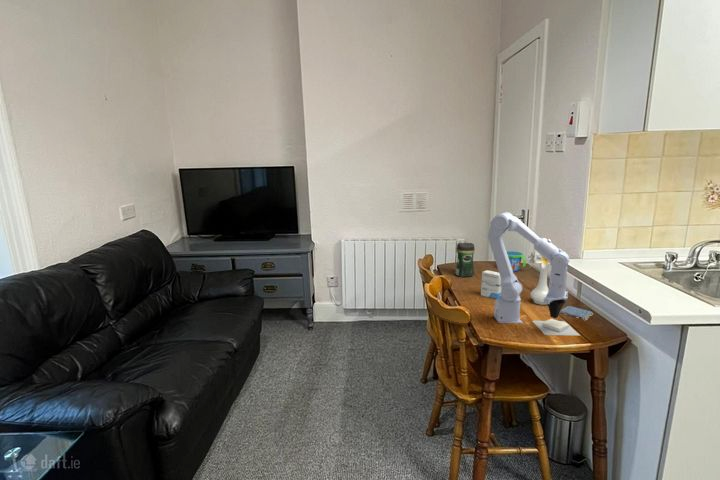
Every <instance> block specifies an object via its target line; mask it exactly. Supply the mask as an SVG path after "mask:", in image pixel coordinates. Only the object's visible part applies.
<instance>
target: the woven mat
mask: <svg viewBox="0 0 720 480" xmlns="http://www.w3.org/2000/svg"><path fill="white" fill-rule="evenodd" d="M561 314H562V315H564V316H568V317H572V318H576V319H579V320H582V321H585V322H586V321H588V319H590V317H593V315H594V313H593V311H591V310H587V309H584V308H582V307H581V308H579V307H578V306H577V307H575V306H572V305H568V306H566V307H564V308H562V309H561V310H560V315H561ZM579 317H580V318H579Z"/></svg>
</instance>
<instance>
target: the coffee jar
mask: <svg viewBox="0 0 720 480" xmlns="http://www.w3.org/2000/svg"><path fill="white" fill-rule="evenodd" d="M475 251H476V249H475V244H474V243H473V242H459V243H458V242H457V245H456V253H457V259H456V266H455V275H456V276H457V277H460V278H469V277H470V278H471V277H473V276H475V275H474V274H475V273H474V272H475V271H474V255H475V254H474V253H475Z"/></svg>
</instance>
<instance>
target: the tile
mask: <svg viewBox="0 0 720 480" xmlns="http://www.w3.org/2000/svg"><path fill="white" fill-rule="evenodd" d="M544 321H545V322H543V323H542V326H543V327H546V328H549V329H552V330H555V331H558V332H560V331H562V330H564V329H566V328H568V327H569V325H570V324H569V323H567V322H566V323H563V322H560V321H561V320H557V319H555V318H554V319H553V318H549V319H547V320H544Z"/></svg>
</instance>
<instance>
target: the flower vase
mask: <svg viewBox="0 0 720 480" xmlns="http://www.w3.org/2000/svg"><path fill="white" fill-rule="evenodd" d="M527 258H528V259H529V260H528V264H530V265H529V267H530V268H531V267H532V266H533V265H534V264H539V267H540V271H539V279H538V283H537V285H536V287H534V288H533V289H532V291H530V298H531V299H532V300H533V303H535V304H537V305H542V306H543V305H544V306H545V305H546V306H547V304H546V303H544V298H545V297H546V295H547V294H548V291H549V285H548V271H549V268H550V266H551V264H550V261H548V260H547V259H545V258H544V257H543V256H542V255H541V254H539V253H538V252H537V251H536V250H535V249H533V251H532V252H530V254H529V255H528V257H527Z"/></svg>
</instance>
